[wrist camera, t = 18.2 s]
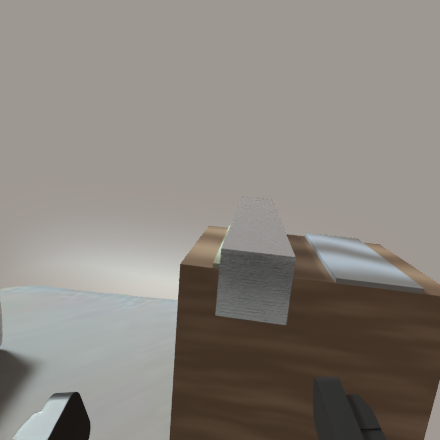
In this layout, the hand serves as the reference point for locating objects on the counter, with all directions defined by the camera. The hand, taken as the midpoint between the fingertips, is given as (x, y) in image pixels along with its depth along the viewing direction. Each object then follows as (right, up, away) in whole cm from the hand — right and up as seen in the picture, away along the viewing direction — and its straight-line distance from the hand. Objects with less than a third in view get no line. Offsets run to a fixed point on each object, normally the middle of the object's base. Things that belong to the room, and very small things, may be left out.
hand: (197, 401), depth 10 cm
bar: (+4, +3, +15) cm, 16 cm away
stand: (+6, -28, +25) cm, 38 cm away
